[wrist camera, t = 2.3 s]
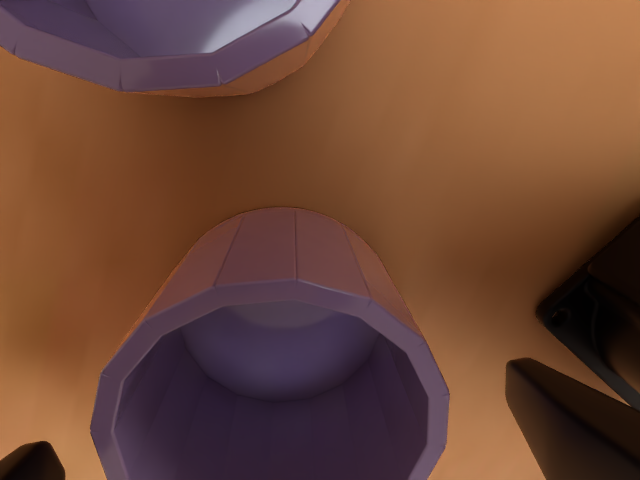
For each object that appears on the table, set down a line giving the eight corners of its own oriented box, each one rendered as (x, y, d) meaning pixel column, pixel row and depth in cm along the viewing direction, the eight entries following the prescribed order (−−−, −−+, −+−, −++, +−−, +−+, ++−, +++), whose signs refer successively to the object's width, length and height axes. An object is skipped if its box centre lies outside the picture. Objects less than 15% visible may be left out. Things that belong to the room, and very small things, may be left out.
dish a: (433, 298, 11) (518, 413, 7) (296, 429, 13) (298, 592, 8) (265, 156, 10) (243, 197, 5) (126, 326, 11) (21, 466, 7)
